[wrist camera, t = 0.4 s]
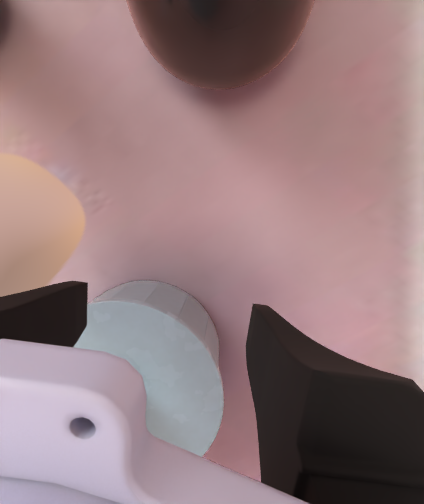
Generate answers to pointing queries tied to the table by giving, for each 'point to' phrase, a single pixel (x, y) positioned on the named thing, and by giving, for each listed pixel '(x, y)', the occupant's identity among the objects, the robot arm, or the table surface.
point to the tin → (170, 306)
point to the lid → (162, 368)
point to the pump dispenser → (220, 37)
